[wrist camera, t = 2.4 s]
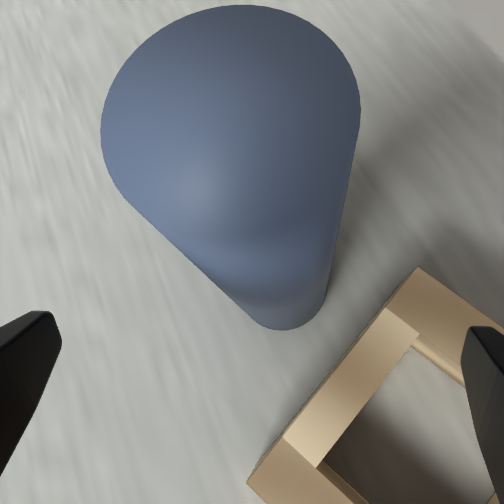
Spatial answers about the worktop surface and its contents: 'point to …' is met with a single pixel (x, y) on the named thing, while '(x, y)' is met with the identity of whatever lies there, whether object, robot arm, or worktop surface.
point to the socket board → (364, 389)
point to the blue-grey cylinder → (239, 151)
